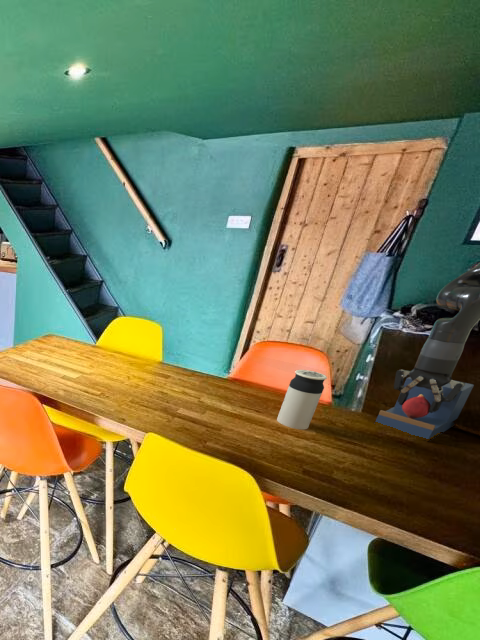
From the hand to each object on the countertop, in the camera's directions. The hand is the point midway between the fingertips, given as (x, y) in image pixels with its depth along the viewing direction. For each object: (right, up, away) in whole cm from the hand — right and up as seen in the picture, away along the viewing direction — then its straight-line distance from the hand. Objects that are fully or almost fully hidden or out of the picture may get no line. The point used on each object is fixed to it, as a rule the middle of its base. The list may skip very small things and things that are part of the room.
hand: (415, 407), depth 122 cm
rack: (+5, -6, +5) cm, 10 cm away
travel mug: (-34, -7, +5) cm, 35 cm away
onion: (0, -4, +1) cm, 4 cm away
